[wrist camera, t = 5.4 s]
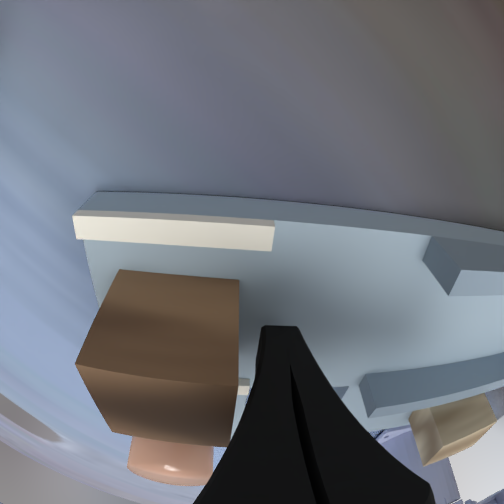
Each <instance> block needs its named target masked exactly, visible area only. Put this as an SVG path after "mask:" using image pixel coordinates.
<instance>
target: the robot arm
mask: <svg viewBox="0 0 504 504" xmlns="http://www.w3.org/2000/svg"><path fill="white" fill-rule="evenodd" d="M458 499H460V495H459V491H458V487H457V484H456V481H455V477H454V474H453V471H452V468H451V464H450V461H449V458H448V457H447V458H444V459H442V460H440V461H437V462H435V463H432V464H429V465H427V466H424V467H423V465H422V461H421V458H420V454H419V451H418V448H417V445H416V441H415V438H414V435H413V432H412V429H411V426H410V424H409V425H405V426H400V427H395V428H389V429H386V430H385V431H383V432H382V433H381V434H380V435H379V436H378V437H377V438H376V440H375V439H374V438H373V437H372V436H371V435H370V434H369V432H368V431H367V430H366V429H365V428H364V427H363V426H362V425H361V424H360V423H359V421H358V420H357V419H356V418H355V417H354V415H353V414H352V413H351V412H350V410H349V409H348V408H347V407H346V405H345V404H344V403H343V401H342V400H341V399H340V397H339V396H338V394H337V393H336V392H335V390H334V389H333V387H332V386H331V384H330V383H329V381H328V380H327V378H326V376H325V375H324V373H323V372H322V370H321V368H320V367H319V365H318V363H317V362H316V360H315V358H314V356H313V355H312V353H311V351H310V349H309V347H308V346H307V344H306V342H305V340H304V338H303V336H302V334H301V332H300V330H299V328H298V327H297V326H277V325H264V326H263V327H261V332H260V338H259V344H258V349H257V355H256V364H255V379H254V383H253V386H252V389H251V392H250V395H249V398H248V401H247V404H246V406H245V409H244V411H243V414H242V416H241V419H240V421H239V423H238V426H237V428H236V430H235V432H234V434H233V436H232V439H231V441H230V443H229V445H228V447H227V449H226V451H225V453H224V454H223V456H222V458H221V460H220V462H219V463H218V465H217V467H216V469H215V470H214V472H213V474H212V475H211V477H210V479H209V480H208V482H207V484H206V485H205V487H204V488H203V490H202V491H201V493H200V494H199V496H198V497H197V498H196V500H195V501H194V503H193V504H451V503H453V502H454V501H457V500H458ZM0 504H3V503H1V502H0ZM453 504H463V501H462V500H459V501H458V502H455V503H453ZM465 504H504V489H502V490H501V491H498V492H496V493H494V494H493V495H491V496H489V497H487V498H486V499H484V500H482V501H480V502H478V503H477V502H476V501H471V500H470V499H469V500H467V501H466V502H465Z"/></svg>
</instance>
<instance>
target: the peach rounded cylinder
mask: <svg viewBox="0 0 504 504" xmlns="http://www.w3.org/2000/svg"><path fill="white" fill-rule="evenodd" d="M213 451H214V446H202V445H191V444H182V443H174V442H166V441H159V440H153V439H146V438H141V437H135V436H132V441H131V447H130V452H129V458H128V464H127V468H128V469H129V470H130V471H131V472H133V473H134V474H136V475H138V476H141V477H143V478H146V479H149V480H152V481H156V482H160V483H165V484H171V485H179V486H200V485H206V484H207V482H208V480H209V479H210V477H211V475H212V474H213Z"/></svg>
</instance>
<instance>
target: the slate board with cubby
mask: <svg viewBox="0 0 504 504" xmlns="http://www.w3.org/2000/svg"><path fill="white" fill-rule="evenodd" d="M72 217H73V223H74V228H75V233H76V238H77V239H83V242H84V247H85V252H86V256H87V261H88V265H89V270H90V274H91V278H92V282H93V286H94V290H95V294H96V298H97V301H98V305H99V309H100V306H101V304H102V302H103V300H104V298H105V296H106V294H107V292H108V290H109V288H110V286H111V284H112V282H113V280H114V278H115V276H116V274H117V273H118V271H119V269H123V270H133V271H143V272H153V273H164V274H175V275H187V276H198V277H210V278H223V279H236V280H239V386H238V393H237V400H236V406H235V413H234V420H233V426H232V433H231V439H232V436H233V434H234V432H235V430H236V428H237V426H238V423H239V421H240V419H241V416H242V414H243V411H244V409H245V403H246V397H247V395H248V393H249V388H252V386H253V383H254V379H255V364H256V355H257V349H258V344H259V338H260V332H261V327H263V326H264V325H277V326H297V327H298V328H299V330H300V332H301V334H302V336H303V338H304V340H305V342H306V344H307V346H308V347H309V349H310V351H311V353H312V355H313V356H314V358H315V360H316V362H317V363H318V365H319V367H320V368H321V370H322V372H323V373H324V375H325V376H326V378H327V380H328V381H329V383H330V384H331V386H332V387H333V389H334V390H335V392H336V393H337V394H338V396H339V397H340V399H341V400H342V401H343V403H344V404H345V405H346V407H347V408H348V409H349V410H350V412H351V413H352V414H353V415H354V417H355V418H356V419H357V420H358V421H359V423H360V424H361V425H362V426H363V427H364V428H365V429H366V430H367V431H368V432H372V431H378V430H384V429H389V428H395V427H400V426H405V425H409V424H410V423H409V420H408V419H409V417H410V415H411V413H412V412H413V411H415V410H420V409H425V408H429V407H434V406H438V405H442V404H446V403H450V402H454V401H458V400H461V399H465V398H468V397H472V396H475V395H478V394H482V393H485V392H488V391H491V390H494V389H497V388H500V387H503V386H504V232H503V231H498V230H493V229H487V228H482V227H476V226H471V225H465V224H459V223H453V222H447V221H441V220H435V219H429V218H422V217H415V216H408V215H401V214H394V213H387V212H379V211H371V210H363V209H355V208H347V207H338V206H329V205H319V204H310V203H299V202H289V201H278V200H266V199H253V198H240V197H225V196H209V195H190V194H169V193H141V192H95V193H94V194H93V195H92V196H91V197H90V198H89V199H88V200H87V201H86V202H85V203H84V204H83V205H82V206H81V207H80V208H79V209H78V210H77V211H76V212H75V213H74V214H73V216H72ZM231 439H230V440H231Z"/></svg>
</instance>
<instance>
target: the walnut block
mask: <svg viewBox="0 0 504 504" xmlns="http://www.w3.org/2000/svg"><path fill="white" fill-rule="evenodd" d="M75 365H76V367H77V369H78V371H79V373H80V375H81V377H82V379H83V381H84V383H85V385H86V387H87V389H88V391H89V393H90V395H91V396H92V398H93V400H94V402H95V404H96V406H97V407H98V409H99V411H100V413H101V414H102V416H103V418H104V419H105V421H106V423H107V424H108V426H109V428H110V429H111V431H112V432H115V433H120V434H125V435H130V436H135V437H141V438H146V439H153V440H159V441H166V442H174V443H182V444H191V445H202V446H215V447H228V445H229V443H230V439H231V433H232V426H233V420H234V413H235V406H236V400H237V393H238V386H239V280H236V279H223V278H210V277H198V276H187V275H175V274H164V273H153V272H143V271H133V270H123V269H119V271H118V273H117V274H116V276H115V278H114V280H113V282H112V284H111V286H110V288H109V290H108V292H107V294H106V296H105V298H104V300H103V302H102V304H101V306H100V309H99V311H98V313H97V315H96V317H95V319H94V321H93V323H92V326H91V328H90V330H89V332H88V335H87V337H86V339H85V341H84V344H83V346H82V348H81V351H80V353H79V355H78V358H77V360H76V362H75Z"/></svg>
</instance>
